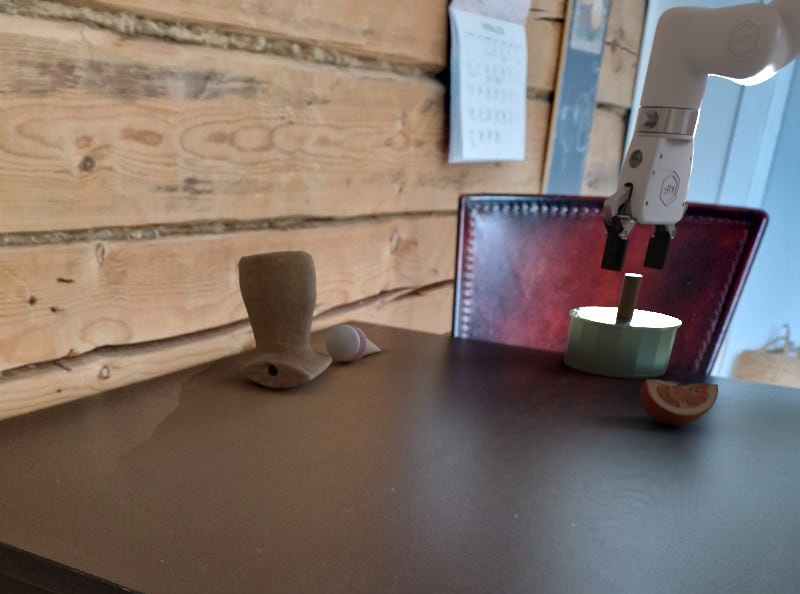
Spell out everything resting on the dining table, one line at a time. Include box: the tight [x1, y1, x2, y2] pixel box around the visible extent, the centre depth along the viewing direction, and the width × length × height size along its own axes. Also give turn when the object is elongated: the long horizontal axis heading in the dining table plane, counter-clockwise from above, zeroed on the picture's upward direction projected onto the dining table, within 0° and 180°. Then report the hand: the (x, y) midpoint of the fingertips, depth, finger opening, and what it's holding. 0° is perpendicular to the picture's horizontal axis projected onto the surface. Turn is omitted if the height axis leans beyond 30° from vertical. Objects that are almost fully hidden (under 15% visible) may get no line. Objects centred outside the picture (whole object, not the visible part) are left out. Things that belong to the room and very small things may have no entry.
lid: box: [568, 273, 682, 331], centre depth 121 cm, size 15×15×7 cm
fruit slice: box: [639, 378, 719, 426], centre depth 98 cm, size 8×7×5 cm
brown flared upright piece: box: [237, 250, 333, 389], centre depth 106 cm, size 15×12×15 cm
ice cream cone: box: [324, 324, 382, 363], centre depth 121 cm, size 5×5×15 cm
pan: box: [563, 317, 678, 380], centre depth 124 cm, size 14×14×6 cm
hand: (632, 269), depth 119 cm, fingers open, 9 cm apart
